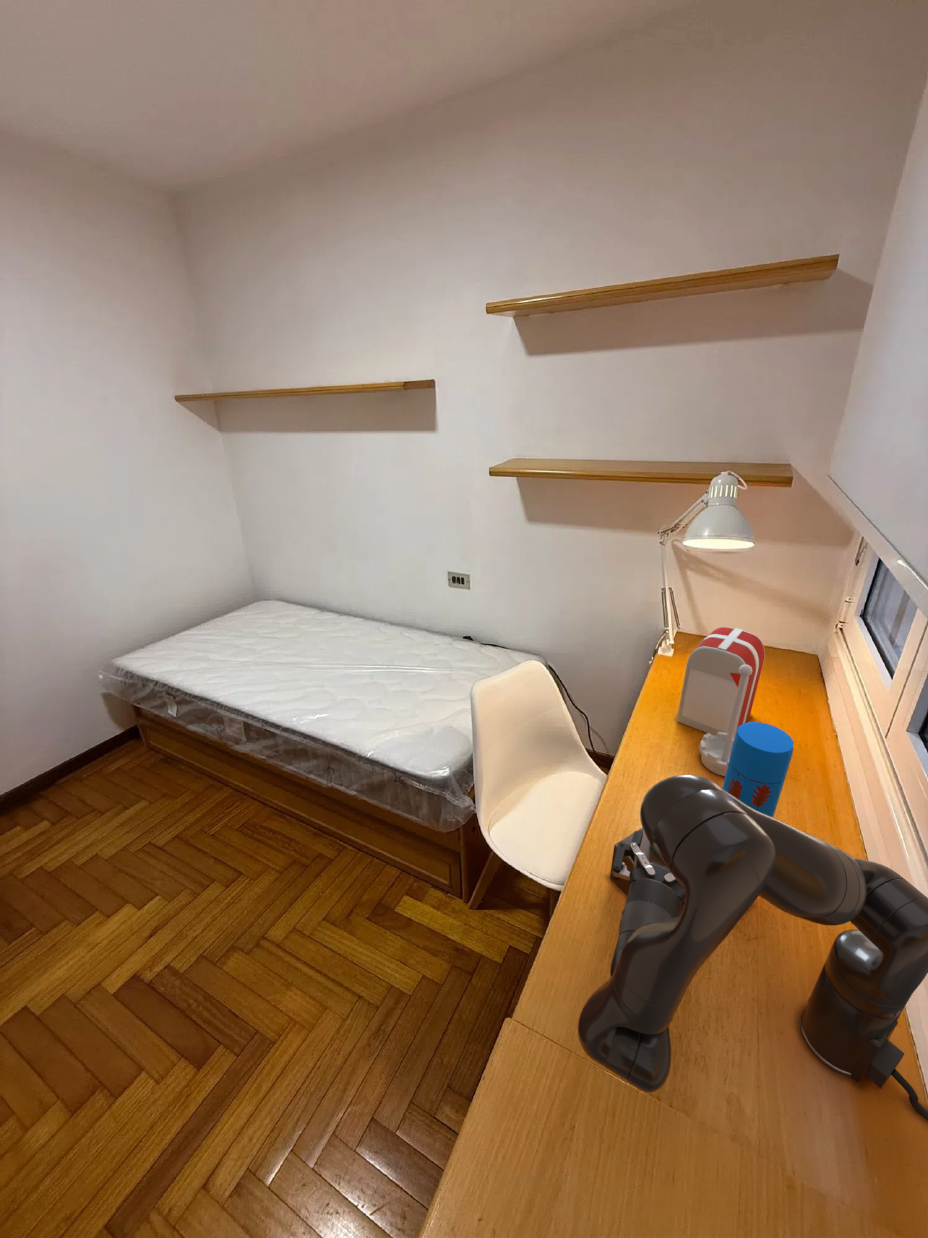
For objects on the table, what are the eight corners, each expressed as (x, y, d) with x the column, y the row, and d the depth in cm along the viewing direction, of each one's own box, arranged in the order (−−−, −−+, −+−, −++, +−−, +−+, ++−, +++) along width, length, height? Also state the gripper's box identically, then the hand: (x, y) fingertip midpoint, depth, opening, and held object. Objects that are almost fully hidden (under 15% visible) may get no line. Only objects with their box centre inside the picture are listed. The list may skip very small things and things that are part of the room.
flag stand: (762, 776, 133) (790, 676, 121) (715, 783, 131) (739, 681, 119) (730, 745, 145) (753, 650, 132) (687, 750, 143) (706, 655, 131)
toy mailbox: (675, 720, 156) (689, 640, 144) (696, 695, 168) (710, 620, 156) (733, 743, 145) (753, 659, 134) (751, 714, 157) (771, 635, 146)
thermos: (774, 847, 113) (803, 756, 103) (721, 840, 115) (744, 750, 105) (759, 810, 123) (784, 724, 112) (710, 804, 125) (731, 719, 114)
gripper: (598, 918, 79) (622, 842, 92) (698, 962, 73) (708, 874, 86) (602, 885, 76) (626, 811, 89) (707, 927, 70) (717, 841, 83)
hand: (667, 842), depth 88 cm, fingers open, 8 cm apart
